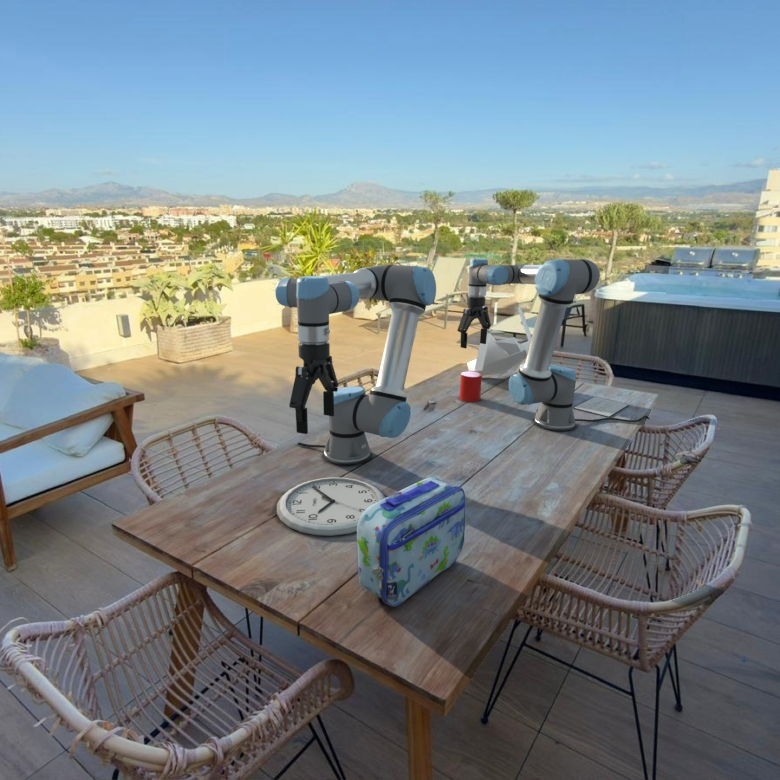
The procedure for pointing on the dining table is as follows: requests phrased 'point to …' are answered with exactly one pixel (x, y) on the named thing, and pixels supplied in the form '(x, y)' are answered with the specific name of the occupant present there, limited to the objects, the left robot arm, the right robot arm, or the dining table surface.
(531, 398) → the right robot arm
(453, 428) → the dining table surface
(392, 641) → the dining table surface
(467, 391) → the canister
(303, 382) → the left robot arm
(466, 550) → the dining table surface
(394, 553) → the lunch box
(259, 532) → the dining table surface
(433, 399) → the fork
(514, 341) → the white plastic object
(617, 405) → the invitation card
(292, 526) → the wall clock
